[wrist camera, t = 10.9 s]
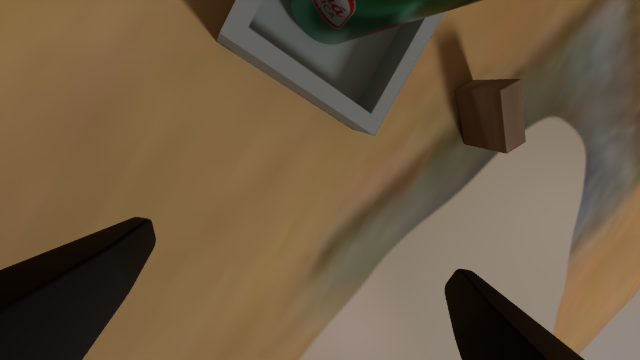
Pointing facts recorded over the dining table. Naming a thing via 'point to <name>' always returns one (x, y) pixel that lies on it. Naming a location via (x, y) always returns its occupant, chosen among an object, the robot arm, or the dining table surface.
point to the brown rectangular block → (492, 114)
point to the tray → (328, 60)
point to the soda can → (362, 16)
